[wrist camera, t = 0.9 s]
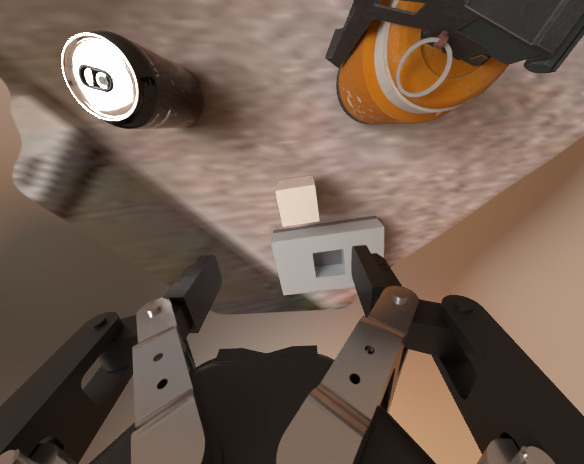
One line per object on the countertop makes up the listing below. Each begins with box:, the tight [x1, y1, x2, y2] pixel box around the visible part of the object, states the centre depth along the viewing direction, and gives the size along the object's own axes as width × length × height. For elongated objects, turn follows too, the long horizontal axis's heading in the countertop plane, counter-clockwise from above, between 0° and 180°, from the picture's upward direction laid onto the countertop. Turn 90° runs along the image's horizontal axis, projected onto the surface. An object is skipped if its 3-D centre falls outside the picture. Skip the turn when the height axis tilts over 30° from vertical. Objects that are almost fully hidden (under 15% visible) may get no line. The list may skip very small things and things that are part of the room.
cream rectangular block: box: [275, 175, 320, 227], centre depth 29 cm, size 4×4×8 cm
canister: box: [325, 0, 584, 124], centre depth 17 cm, size 9×11×20 cm
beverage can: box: [62, 30, 203, 129], centre depth 22 cm, size 7×7×12 cm
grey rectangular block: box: [271, 216, 384, 295], centre depth 35 cm, size 16×10×4 cm, turn 100°
